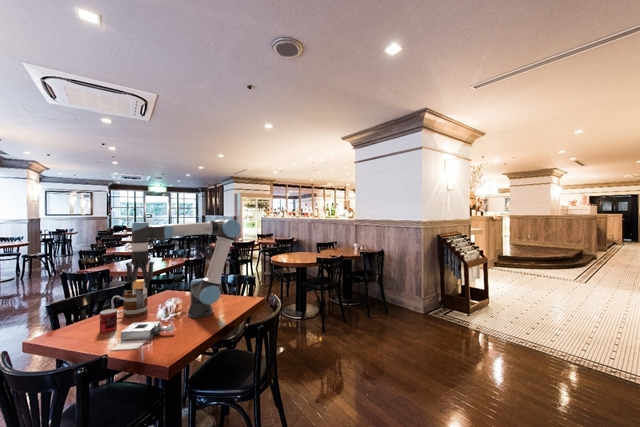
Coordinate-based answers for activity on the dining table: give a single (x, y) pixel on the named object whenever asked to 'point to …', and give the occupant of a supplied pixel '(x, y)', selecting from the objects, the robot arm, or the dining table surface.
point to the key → (139, 292)
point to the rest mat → (129, 345)
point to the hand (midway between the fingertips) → (139, 293)
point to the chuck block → (143, 331)
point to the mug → (131, 305)
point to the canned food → (108, 320)
